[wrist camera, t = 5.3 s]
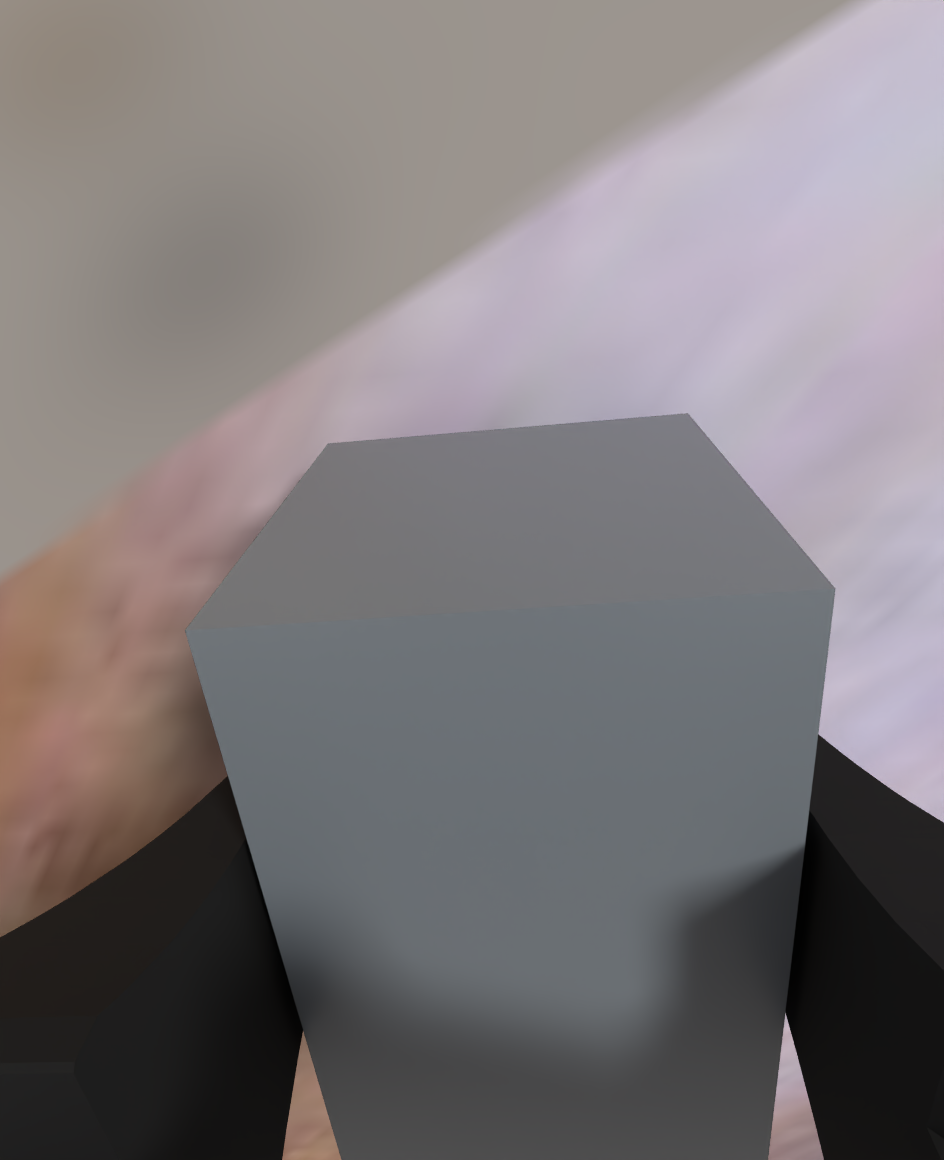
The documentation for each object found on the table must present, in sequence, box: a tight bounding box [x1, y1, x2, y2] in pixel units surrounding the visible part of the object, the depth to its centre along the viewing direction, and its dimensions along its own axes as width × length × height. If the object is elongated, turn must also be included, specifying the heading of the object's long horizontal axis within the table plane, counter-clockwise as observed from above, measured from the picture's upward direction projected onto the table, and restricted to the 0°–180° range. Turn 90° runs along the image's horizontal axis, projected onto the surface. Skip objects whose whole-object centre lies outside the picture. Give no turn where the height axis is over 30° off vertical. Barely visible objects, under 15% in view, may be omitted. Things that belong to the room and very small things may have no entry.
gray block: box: [185, 413, 835, 1160], centre depth 12 cm, size 6×9×6 cm, turn 6°
